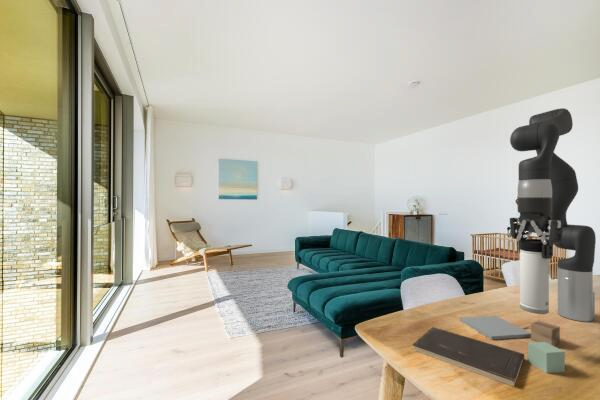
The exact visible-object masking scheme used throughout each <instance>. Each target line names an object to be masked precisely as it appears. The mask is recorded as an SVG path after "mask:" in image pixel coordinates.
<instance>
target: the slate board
mask: <svg viewBox="0 0 600 400" xmlns="http://www.w3.org/2000/svg"><path fill="white" fill-rule="evenodd" d="M459 321H460V322H461V323H462V324H465V325H467V326H468V327H470V328H471V329H473V330H475V331H476V332H478V333H480V334H481V335H483V336H485V337H487V338H488V339H490V340H506V339H507V340H508V339H524V338H525V339H526V338H531V331H527V330H526V329H524V328H523V327H520V326H518V325H515V324H513V323H511V322H510V321H508V320H506V319H504V318H502V317H499V316H497V315H486V316H469V317H467V316H465V317H459Z"/></svg>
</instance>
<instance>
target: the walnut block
mask: <svg viewBox="0 0 600 400" xmlns="http://www.w3.org/2000/svg"><path fill="white" fill-rule="evenodd" d="M560 330H561V327H560V326H558V325H555V324H552V323H548V322H546V321H542V320H537V321H535V322H532V323H530V333H531V337H530V340H531V342H547V343H549V344H550V345H552V346H554V347H557V345H559V344H560V343H561V342H560V341H561V339H560V337H561V336H560V335H561V331H560Z"/></svg>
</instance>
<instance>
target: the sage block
mask: <svg viewBox="0 0 600 400" xmlns="http://www.w3.org/2000/svg"><path fill="white" fill-rule="evenodd" d="M565 354H566V352H565V351H564V350H563V349H561V348H558V347H557V346H552V345H550V344H549V343H547V342H535V341H532V342H528V343H527V362H528V363H529V364H531V365H532V366H534V367H535V368H537V369H539V370H541V371H542V372H544V373H545V374H550V373H551V374H555V373H565V372H566V370H565V367H566V365H565V364H566V363H565V362H566V357H565V356H566V355H565Z"/></svg>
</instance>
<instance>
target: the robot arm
mask: <svg viewBox="0 0 600 400" xmlns="http://www.w3.org/2000/svg"><path fill="white" fill-rule="evenodd" d="M528 121H529V123H528V124H527V125H522V126H519V127H516V128H515V129H514V130H513V131H512V133H511V134H510V138H509V142H510V145H511V148H513V149H514V150H515V151H517V152H529V151H530V152H531V151H536V152H535V153H536V156H534V157H531V158H526V159H523V160H521V161H520V162H519V163H518V184H517V212H518V213H519V217H510V218H509V226H510V236H511V238H514V239H516V240H517V250H518V253H519V254H520V252H521V251H520V247H521V246H520V241H521V240H526V239H529V237H530V236H531V235H532V234H533V233H534V234H536V236H537V237H539V239H541V241H542V243H543V244H544V245H542V258H544V259H549V260H550V259H552V257H553V256H554V246H555V247H556V248H558V249H562V250H569V251H575V252H574V255H573V256H571V257H567V258H560V259H558V260H557V308H556V309H557V314H558V315H559V316H561V317H563V318H566V319H568V320H569V319H570V320H573V321H578V322H592V321H593V320H596V319H595V317H596V316H595V311H596V309H595V308H596V304H595V300H596V295H595V294H596V293H595V292H594V291H593V289H594V288H593V286H594V285H593V284H594V283H593V282H594V280H593V277H594V275H593V273H594V269H593V268H594V263H595V252H596V242H597V241H596V232H595V231H594V229H593V228H592V226H589V225H580V224H568V221H567V211H568V209H569V207H570V205H571V204H572V202H573V201H574V200H575V198H576V196H577V194H578V191H579V183H578V179H577V173H576V171H575V169H574V168H573V166H571V165H570V164H569V163H568V162H566V160H564V159H563V158H562V157H559V155H557V153H555V149H556V147H557V145H558V141H559V139H560V136H564V135H568V133H570V132H571V131H572V129H573V117H572V114H571V112H570V111H569V110H568V109H567V108H556V109H552V110H549V111H545V112H541V113H537V114H534V115H531V116H530V117H529V119H528Z"/></svg>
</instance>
